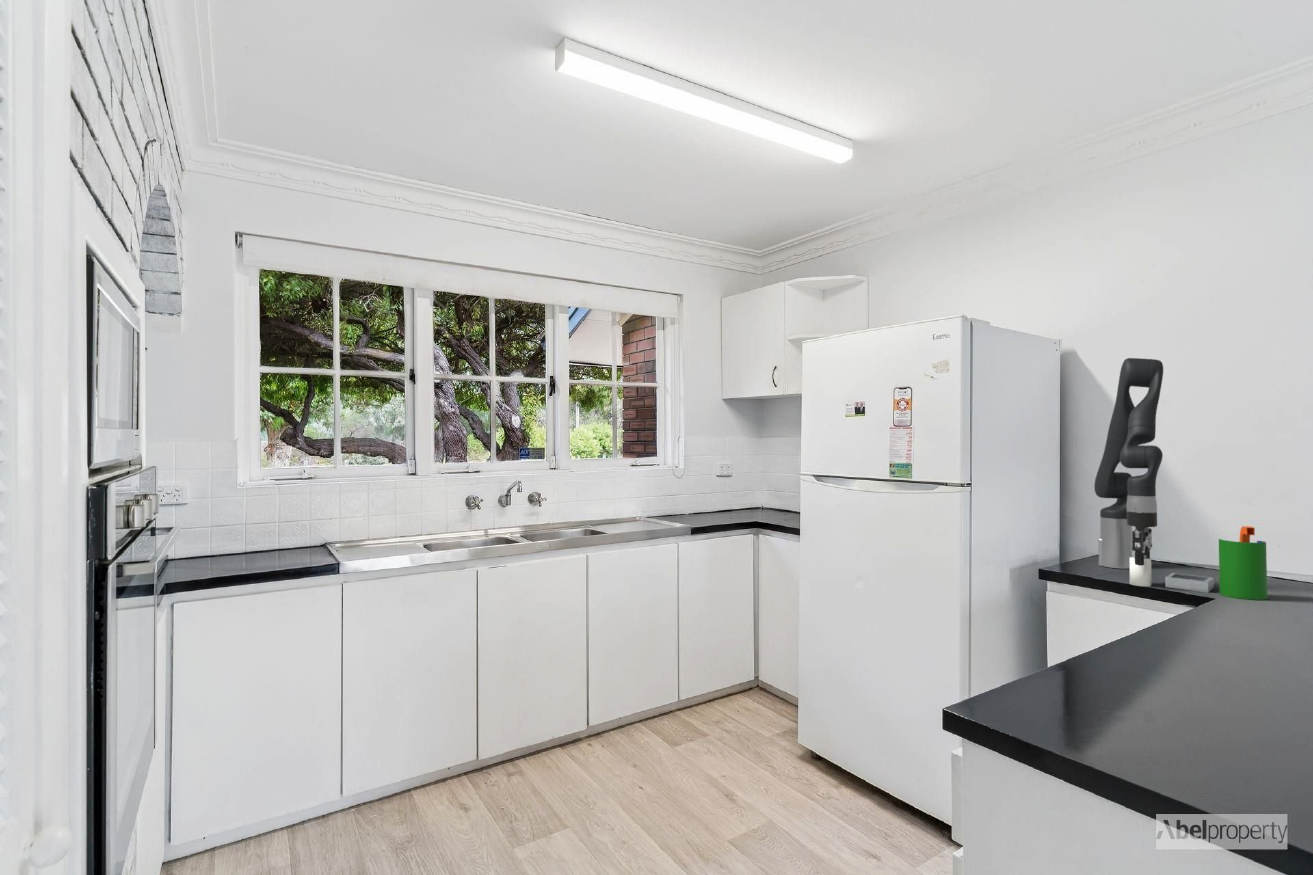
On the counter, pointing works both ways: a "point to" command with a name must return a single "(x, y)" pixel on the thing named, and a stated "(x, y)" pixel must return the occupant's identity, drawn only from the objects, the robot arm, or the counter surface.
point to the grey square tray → (1189, 582)
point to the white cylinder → (1140, 572)
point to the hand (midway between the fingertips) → (1142, 563)
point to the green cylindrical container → (1243, 567)
